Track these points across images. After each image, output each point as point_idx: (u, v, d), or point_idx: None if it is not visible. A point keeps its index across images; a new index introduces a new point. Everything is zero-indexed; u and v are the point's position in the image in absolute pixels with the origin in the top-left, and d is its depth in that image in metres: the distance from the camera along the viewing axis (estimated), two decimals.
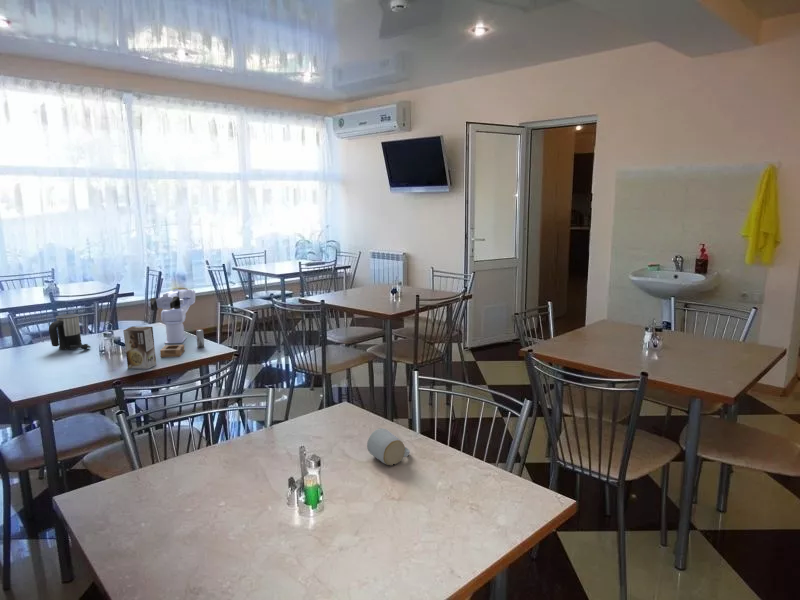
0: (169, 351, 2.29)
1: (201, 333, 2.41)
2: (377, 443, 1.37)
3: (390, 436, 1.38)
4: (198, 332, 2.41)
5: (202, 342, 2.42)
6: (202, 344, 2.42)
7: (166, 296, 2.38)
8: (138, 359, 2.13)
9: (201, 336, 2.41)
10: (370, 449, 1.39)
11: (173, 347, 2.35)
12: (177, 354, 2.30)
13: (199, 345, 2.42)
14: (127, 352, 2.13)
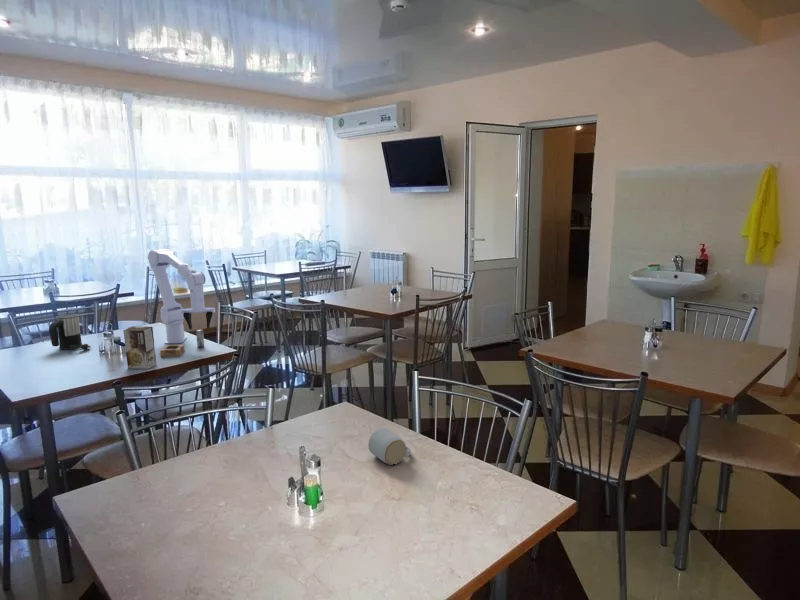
0: (169, 351, 2.29)
1: (201, 333, 2.41)
2: (378, 443, 1.38)
3: (391, 436, 1.38)
4: (198, 332, 2.41)
5: (202, 342, 2.42)
6: (202, 344, 2.42)
7: (197, 311, 2.37)
8: (138, 359, 2.13)
9: (201, 336, 2.41)
10: (371, 449, 1.40)
11: (173, 347, 2.35)
12: (177, 354, 2.30)
13: (199, 345, 2.42)
14: (127, 352, 2.13)
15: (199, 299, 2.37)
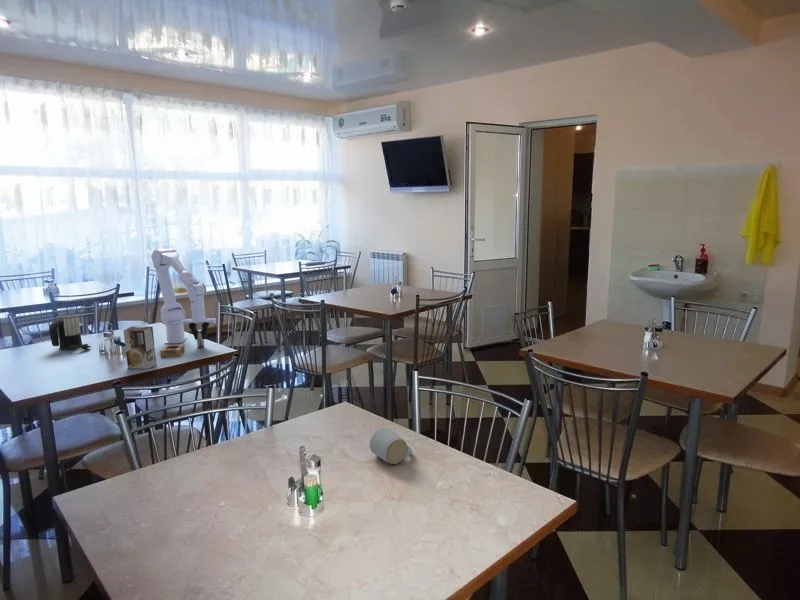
0: (169, 351, 2.29)
1: (201, 333, 2.41)
2: (379, 442, 1.38)
3: (393, 435, 1.38)
4: (198, 332, 2.41)
5: (202, 342, 2.42)
6: (202, 344, 2.42)
7: None
8: (138, 359, 2.13)
9: (201, 336, 2.41)
10: (372, 448, 1.40)
11: (173, 347, 2.35)
12: (177, 354, 2.30)
13: (199, 345, 2.42)
14: (127, 352, 2.13)
15: (200, 310, 2.38)
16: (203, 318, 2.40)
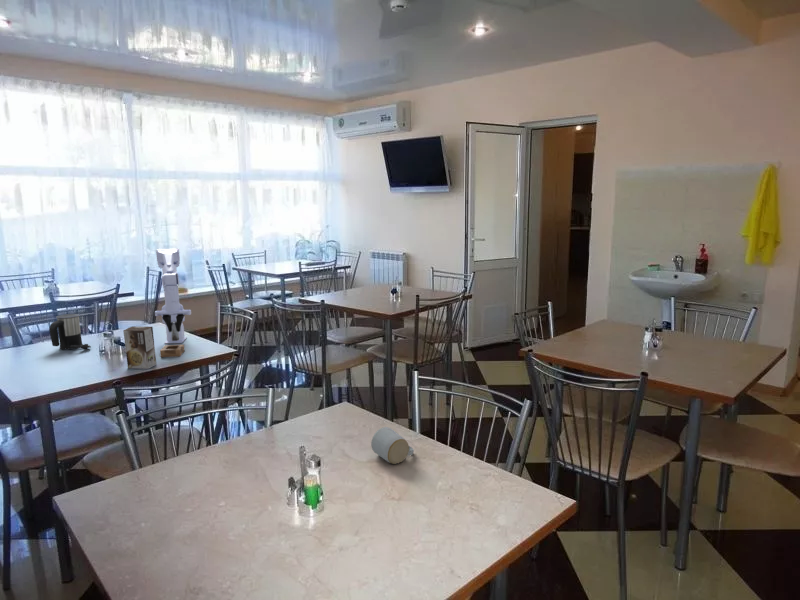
0: (169, 351, 2.29)
1: (175, 325, 2.31)
2: (381, 442, 1.38)
3: (394, 435, 1.39)
4: (172, 324, 2.31)
5: (176, 334, 2.32)
6: (176, 336, 2.32)
7: (172, 313, 2.28)
8: (138, 359, 2.13)
9: (175, 328, 2.31)
10: (374, 448, 1.40)
11: (173, 347, 2.35)
12: (177, 354, 2.30)
13: (173, 337, 2.32)
14: (127, 352, 2.13)
15: (169, 301, 2.27)
16: (177, 309, 2.30)
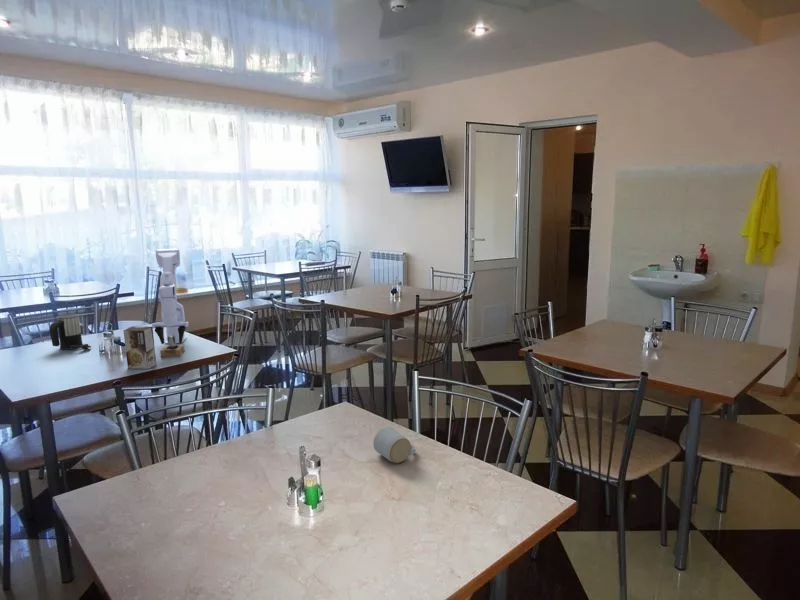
0: (169, 351, 2.29)
1: (172, 339, 2.31)
2: (383, 441, 1.38)
3: (396, 434, 1.39)
4: (169, 338, 2.30)
5: None
6: None
7: (169, 325, 2.28)
8: (138, 359, 2.13)
9: (172, 342, 2.31)
10: (376, 447, 1.41)
11: None
12: (177, 354, 2.30)
13: None
14: (127, 352, 2.13)
15: (166, 313, 2.27)
16: (174, 321, 2.29)
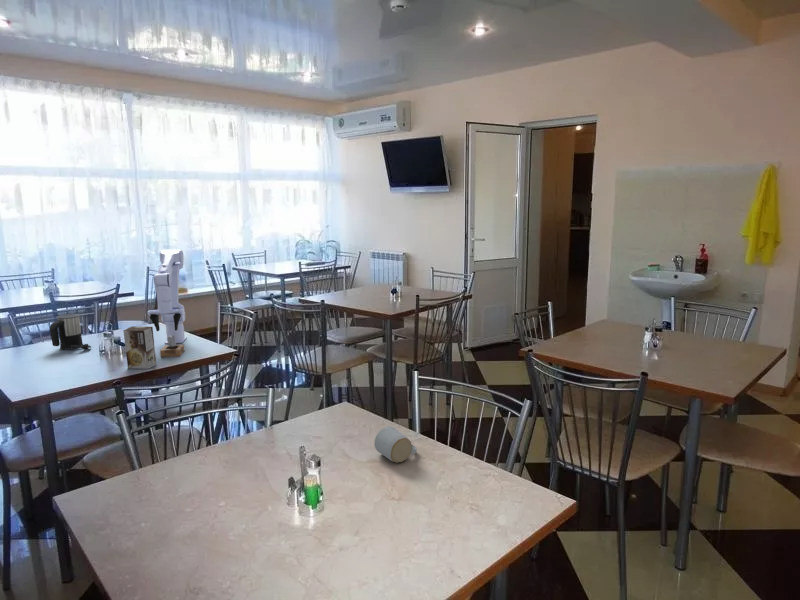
0: (169, 351, 2.29)
1: (172, 339, 2.31)
2: (384, 441, 1.39)
3: (397, 434, 1.39)
4: (169, 338, 2.30)
5: None
6: None
7: None
8: (138, 359, 2.13)
9: (172, 342, 2.31)
10: (377, 447, 1.41)
11: None
12: (177, 354, 2.30)
13: None
14: (127, 352, 2.13)
15: (161, 301, 2.31)
16: (170, 309, 2.33)
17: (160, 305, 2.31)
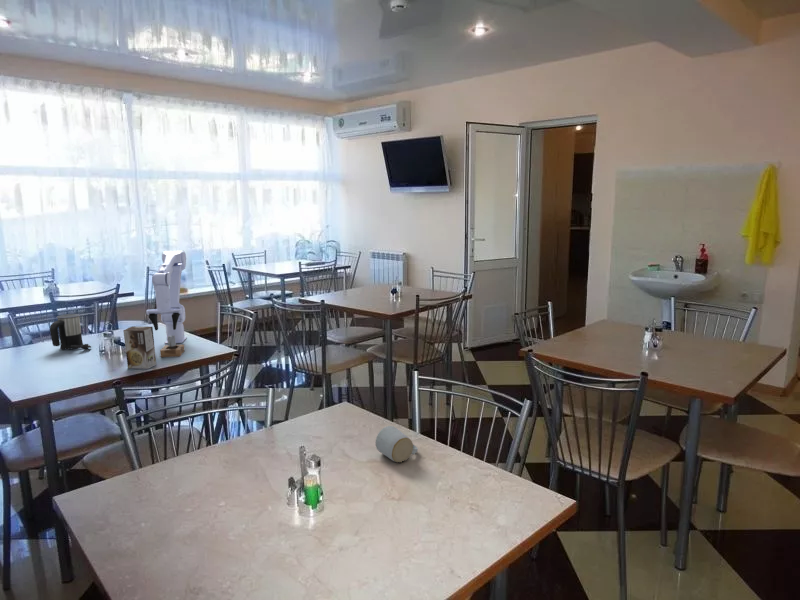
0: (169, 351, 2.29)
1: (172, 339, 2.31)
2: (385, 441, 1.39)
3: (398, 433, 1.39)
4: (169, 338, 2.30)
5: None
6: None
7: (163, 312, 2.33)
8: (138, 359, 2.13)
9: (172, 342, 2.31)
10: (378, 447, 1.41)
11: None
12: (177, 354, 2.30)
13: None
14: (127, 352, 2.13)
15: (159, 300, 2.32)
16: (168, 308, 2.35)
17: (159, 304, 2.33)
